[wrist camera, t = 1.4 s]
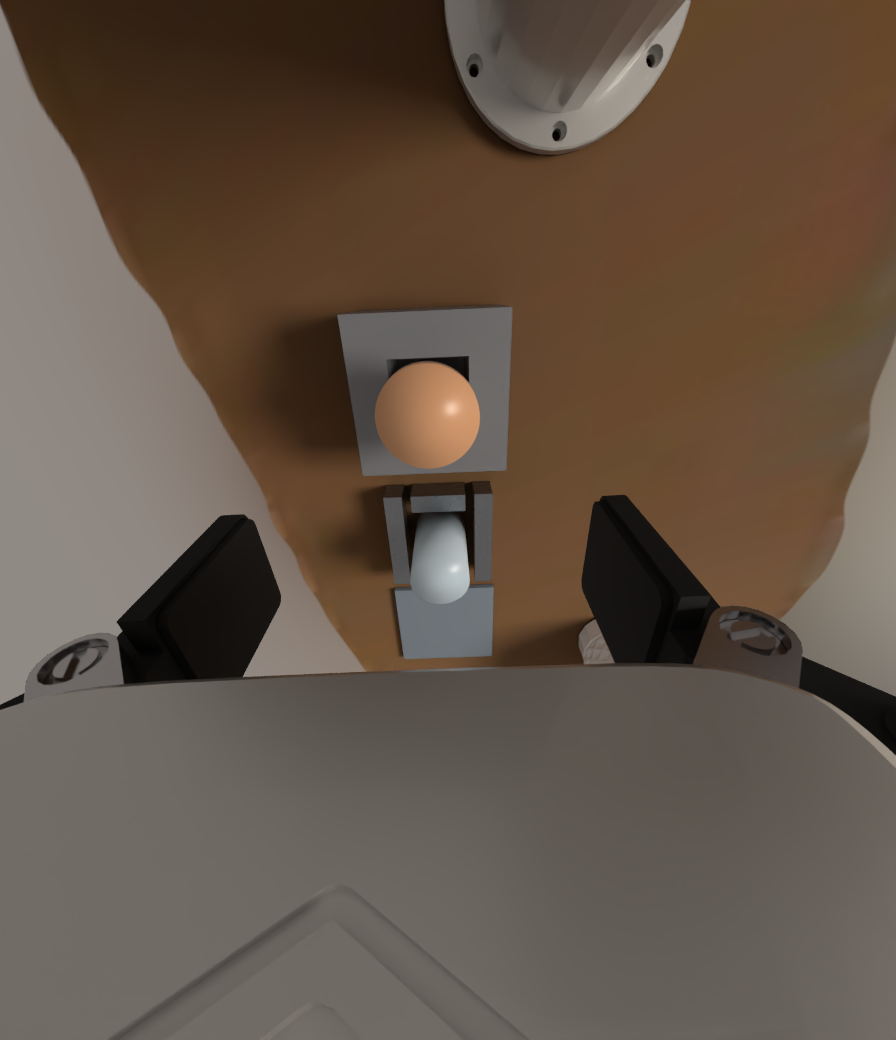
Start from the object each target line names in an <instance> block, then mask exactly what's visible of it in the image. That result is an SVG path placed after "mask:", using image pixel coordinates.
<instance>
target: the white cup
mask: <svg viewBox="0 0 896 1040" xmlns="http://www.w3.org/2000/svg"><path fill="white" fill-rule="evenodd" d="M578 645H579V648H580V651H581V654H582V657H583V660H584V664H604V663H615V662H614V660H613V658H612V656H611V653H610V651H609V649H608V647H607V644H606V642H605V640H604V638H603V635H602V633H601V631H600V629H599V626H598V624H597V622H596V620H595V619H594V620H593V621H591V622H590V623H588V624H587V625H585V627H584V628H583V630H582V631H581V632H580V634H579V642H578Z"/></svg>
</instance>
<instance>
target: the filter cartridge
mask: <svg viewBox="0 0 896 1040" xmlns="http://www.w3.org/2000/svg"><path fill="white" fill-rule="evenodd" d="M469 583H470V579H469V567H468V556H467V545H466V534H465V523H464V520H463V518H462V516H461V515H460V514H459V513H458V512H457V511H449V512H424V513H422V514H421V515H420V516H419V518H418V521H417V526H416V534H415V543H414V551H413V559H412V568H411V576H410V584H411V588H412V590H413V591H414V593H415V594H416V595H417V596H418V597H419V598H421V599H422V600H424V601H426V602H429V603H433V604H446V603H451V602H453V601H456V600H458V599H459V598H461V597H462V596H463V595H464V594H465V593H466V591H467V589H468V587H469Z"/></svg>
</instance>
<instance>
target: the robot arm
mask: <svg viewBox="0 0 896 1040" xmlns="http://www.w3.org/2000/svg"><path fill="white" fill-rule="evenodd" d="M690 3H691V0H444V15H445V22H446V29H447V35H448V41H449V48H450V52H451V55H452V58H453V62H454V65H455V68H456V72H457V75H458V78H459V80H460V82H461V84H462V86H463V89H464V91H465V93H466V95H467V97H468V99H469V101H470V103H471V105H472V106H473V107H474V109H475V110H476V112H477V113H478V114H479V116H480V117H481V119H482V120H483V121H484V123H485V124H486V125H487V126H488V127H489V128H491V129H492V130H493V131H494V132H495V133H496V134H497V135H498V136H499V137H500V138H501V139H503V140H505V141H506V142H508V143H510V144H512V145H513V146H515V147H517V148H519V149H521V150H525V151H528V152H532V153H536V154H545V155H560V154H564V153H568V152H572V151H577V150H580V149H582V148H584V147H586V146H588V145H590V144H592V143H594V142H596V141H598V140H600V139H601V138H603V137H604V136H605V135H607V134H608V133H609V132H611V131H612V130H613V129H615V128H616V127H617V126H619V125H620V124H621V123H622V122H623V121H624V120H625V119H626V118H627V117H628V116H629V115H630V114H631V113H632V112H633V111H634V110H635V109H636V107H637V106H638V105H639V104H640V102H641V101H642V100H643V99H644V97H645V96H646V95H647V94H648V93H649V91H650V90H651V89H652V88H653V86H654V84H655V83H656V81H657V80H658V78H659V76H660V75H661V73H662V71H663V70H664V68H665V67H666V65H667V63H668V61H669V59H670V57H671V54H672V52H673V50H674V47H675V45H676V43H677V41H678V38H679V36H680V34H681V31H682V29H683V26H684V23H685V20H686V16H687V13H688V10H689V6H690ZM646 59H650V61H651V67H648V65H647V63H646ZM471 68H476V69H477V71H478V75H477V77H472V76H470V74H469V71H470V69H471ZM554 131H556V132H558V133H559V140H558V141H554V139H553V138H552V133H553V132H554ZM582 589H583V592H584V595H585V597H586V599H587V602H588V604H589V606H590V608H591V611H592V613H593V615H594V617H595V620H596V622H597V624H598V626H599V629H600V631H601V633H602V635H603V638H604V640H605V642H606V644H607V647H608V649H609V651H610V653H611V656H612V658H613V660H614V662H615V663H604V664H568V665H537V666H508V667H479V668H450V669H424V670H399V671H373V672H349V673H325V674H304V675H280V676H261V677H243V675H244V673H245V671H246V669H247V667H248V665H249V663H250V661H251V659H252V657H253V655H254V654H255V652H256V650H257V648H258V646H259V644H260V642H261V640H262V638H263V636H264V634H265V633H266V631H267V629H268V627H269V625H270V623H271V621H272V619H273V617H274V615H275V613H276V611H277V609H278V608H279V605H280V602H281V594H280V591H279V588H278V585H277V582H276V580H275V578H274V574H273V572H272V569H271V566H270V563H269V561H268V558H267V555H266V552H265V550H264V547H263V544H262V541H261V539H260V536H259V533H258V530H257V527H256V525H255V523H254V521H253V520H251V519H248V518H247V517H246V516H245V515H224V516H220V517H219V518H218V519H217V520H216V521H215V522H214V523H213V524H212V525H211V526H210V527H209V528H208V529H207V530H206V531H205V532H204V533H203V534H202V535H201V536H200V537H199V538H198V539H197V540H196V541H195V542H194V543H193V544H192V545H191V546H190V547H189V548H188V549H187V550H186V551H185V552H184V553H183V554H182V556H180V557H179V558H178V560H177V561H176V562H175V563H174V564H173V565H172V566H171V567H170V568H169V569H168V570H167V571H166V572H165V573H164V574H163V575H162V576H161V577H160V578H159V579H158V580H157V581H156V582H155V583H154V584H153V585H152V586H151V587H150V588H149V589H148V590H147V591H146V592H145V593H144V594H143V595H142V596H141V597H140V598H139V599H138V600H137V601H136V602H135V603H134V604H133V605H132V606H131V607H130V608H129V610H127V612H126V613H125V614H124V615H123V616H122V617H121V618H120V619H119V620H118V621H117V623H118V625H119V626H120V628H121V629H122V632H121V633H120V634H119V636H118V637H117V638H116V636H114V635H111V634H109V633H96V634H91V635H87V636H84V637H81V638H78V639H75V640H73V641H71V642H69V643H67V644H64V645H62V646H61V647H59V648H57V649H56V650H54V651H53V652H51V653H50V654H48V655H47V656H46V657H44V658H43V659H42V660H41V661H40V662H39V663H38V664H37V665H36V666H35V667H34V668H33V669H32V671H31V672H30V673H29V676H28V678H27V680H26V686H25V693H24V694H22V695H20V696H18V697H16V698H13V699H12V700H10V701H7V702H5V703H3V704H1V705H0V1040H896V697H895V696H893V695H890V694H888V693H886V692H883V691H881V690H878V689H876V688H874V687H872V686H870V685H867V684H865V683H862V682H860V681H858V680H855V679H853V678H851V677H848V676H846V675H844V674H842V673H839V672H837V671H835V670H832V669H830V668H828V667H825V666H823V665H821V664H818V663H816V662H814V661H811V660H809V659H806V658H804V657H802V653H803V650H802V644H801V641H800V640H799V638H798V637H797V635H796V634H795V632H793V631H792V630H791V629H790V628H789V627H788V626H787V625H786V624H784V623H783V622H781V621H780V620H778V619H776V618H775V617H773V616H771V615H769V614H766V613H764V612H762V611H759V610H756V609H752V608H748V607H743V606H724V607H720V606H719V605H718V604H717V602H716V601H715V600H714V599H713V598H712V596H711V595H710V594H709V592H708V591H707V590H706V589H705V588H704V587H703V585H702V584H701V583H700V582H699V581H698V580H697V578H696V577H695V576H694V575H693V574H692V572H691V571H690V570H689V569H688V568H687V567H686V565H685V564H684V563H683V562H682V561H681V560H680V558H679V557H678V556H677V555H676V554H675V553H674V551H673V550H672V549H671V548H670V547H669V545H668V544H667V543H666V542H665V541H664V540H663V538H662V537H661V536H660V535H659V534H658V533H657V531H656V530H655V529H654V528H653V527H652V525H651V524H650V523H649V522H648V521H647V520H646V518H645V517H644V516H643V515H642V514H641V513H640V511H639V510H638V509H637V508H636V507H635V506H634V504H633V503H632V502H631V501H630V500H629V498H628V497H627V496H625V495H614V496H602V497H601V499H600V501H599V502H595V503H594V504H593V509H592V515H591V522H590V528H589V535H588V541H587V548H586V554H585V561H584V567H583V574H582Z"/></svg>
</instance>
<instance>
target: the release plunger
mask: <svg viewBox="0 0 896 1040" xmlns="http://www.w3.org/2000/svg"><path fill="white" fill-rule="evenodd" d="M375 423H376V428H377V431H378V434H379V437H380V439H381V441H382V442H383V444H384V445H385V447H386V448H387V449H388V451H389V452H390V453H391V454H392V455H394V456H395V457H396V458H397V459H399V460H400V461H402V462H404V463H406V464H408V465H411V466H414V467H418V468H424V469H432V468H439V467H444V466H446V465H449V464H451V463H453V462H455V461H456V460H458V459H459V458H461V457H462V456H463V455H464V454H465V453H466V452H467V451H468V450H469V449H470V447H471V446H472V444H473V442H474V440H475V438H476V436H477V433H478V430H479V425H480V411H479V405H478V402H477V399H476V396H475V393H474V391H473V389H472V387H471V385H470V384H469V382H468V381H467V380H466V379H465V378H464V376H463V375H461V374H460V373H459V372H458V371H456V370H455V369H453V368H452V367H450V366H448V365H446V364H442V363H439V362H434V361H420V362H415V363H411V364H409V365H406V366H404V367H402V368H401V369H399V370H398V371H397V372H395V373H394V374H393V375H392V376H391V377H390V378H389V379H388V381H387V382H386V384H385V385H384V386H383V388H382V390H381V392H380V394H379V396H378V399H377V402H376V407H375Z"/></svg>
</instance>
